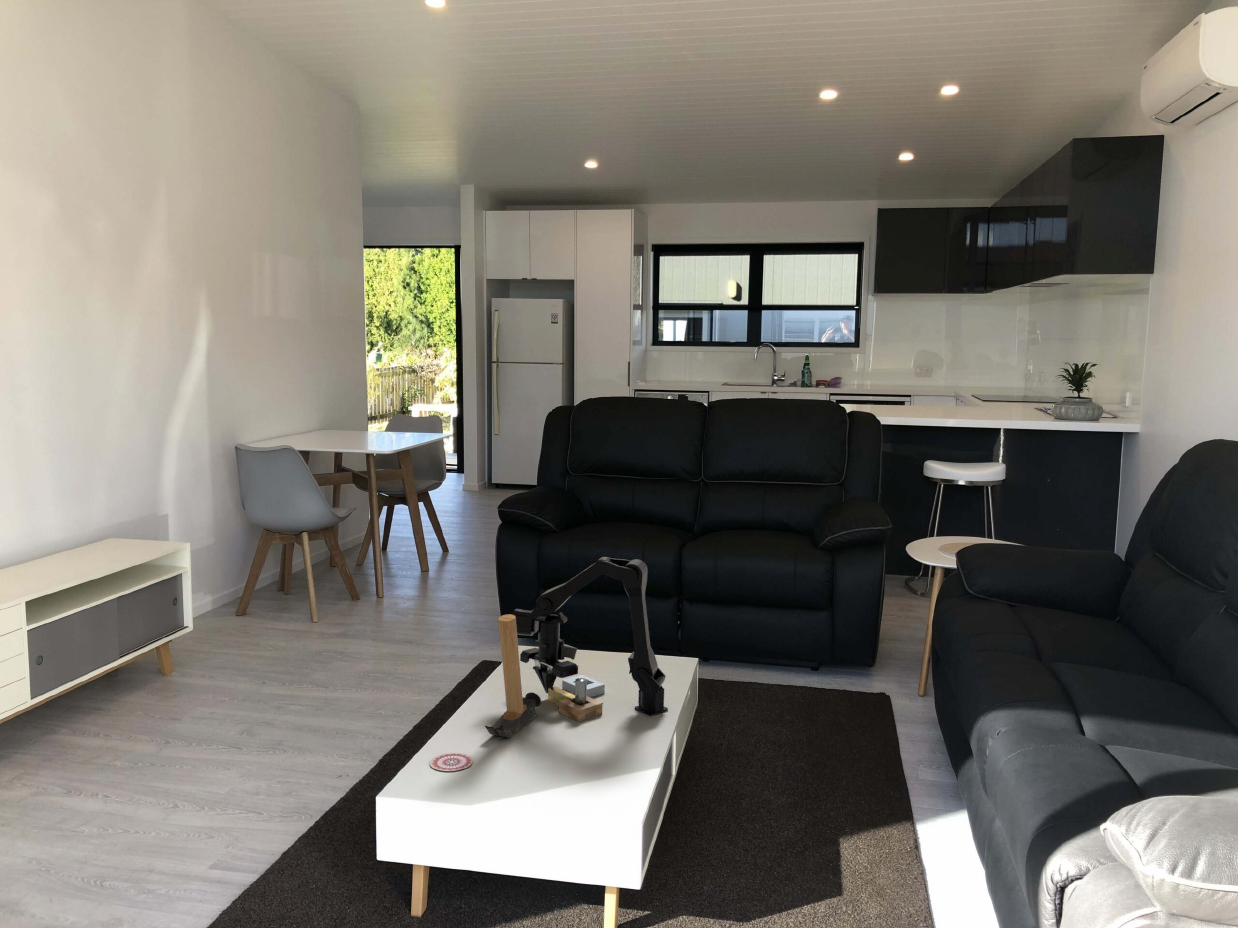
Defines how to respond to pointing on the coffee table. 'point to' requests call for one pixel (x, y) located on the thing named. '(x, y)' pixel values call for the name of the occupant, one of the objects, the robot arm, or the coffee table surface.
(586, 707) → the socket block
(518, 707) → the hammer
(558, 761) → the coffee table surface
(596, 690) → the light blue rectangular frame
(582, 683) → the peg
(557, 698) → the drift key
